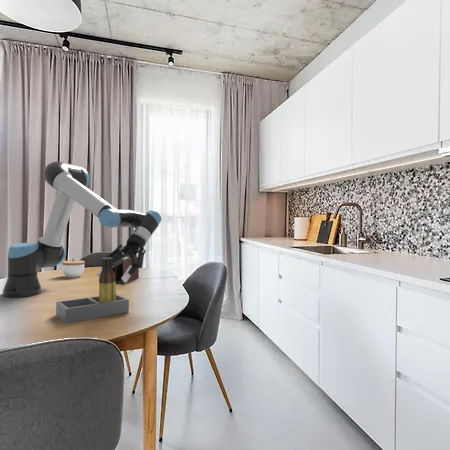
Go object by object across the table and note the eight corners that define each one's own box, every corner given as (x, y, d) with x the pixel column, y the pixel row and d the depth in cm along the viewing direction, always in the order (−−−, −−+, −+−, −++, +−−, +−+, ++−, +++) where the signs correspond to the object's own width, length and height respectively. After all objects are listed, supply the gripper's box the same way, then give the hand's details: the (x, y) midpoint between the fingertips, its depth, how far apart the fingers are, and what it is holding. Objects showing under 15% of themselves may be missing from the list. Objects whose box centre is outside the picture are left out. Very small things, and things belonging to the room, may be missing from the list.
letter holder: (138, 278, 196) (139, 255, 196) (123, 284, 177) (124, 259, 176) (123, 277, 198) (124, 254, 198) (106, 283, 178) (107, 258, 178)
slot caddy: (55, 315, 119) (56, 301, 119) (115, 305, 134) (116, 293, 134) (65, 323, 110) (66, 309, 110) (128, 312, 125) (128, 299, 125)
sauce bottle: (110, 304, 130) (111, 256, 130) (119, 307, 127) (120, 257, 126) (95, 307, 125) (96, 257, 125) (103, 311, 121) (104, 259, 121)
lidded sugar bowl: (63, 275, 199) (63, 257, 198) (85, 274, 202) (85, 257, 202) (59, 278, 187) (59, 260, 186) (82, 278, 190) (83, 259, 190)
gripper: (165, 246, 136) (139, 288, 123) (122, 243, 148) (94, 280, 135) (157, 234, 131) (129, 276, 118) (113, 232, 143) (84, 269, 130)
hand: (110, 278), depth 126 cm, fingers open, 13 cm apart
